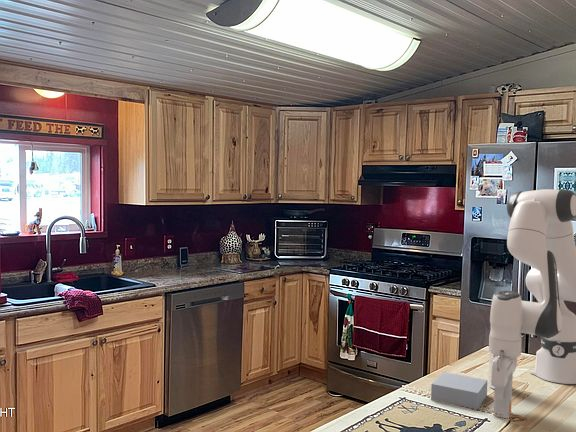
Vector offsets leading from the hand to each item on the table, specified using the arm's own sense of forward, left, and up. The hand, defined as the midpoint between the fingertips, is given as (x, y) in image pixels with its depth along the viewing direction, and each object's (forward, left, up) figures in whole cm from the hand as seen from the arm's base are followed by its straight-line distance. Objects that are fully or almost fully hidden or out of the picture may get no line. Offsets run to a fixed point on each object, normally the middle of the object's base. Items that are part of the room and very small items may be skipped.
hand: (503, 393), depth 160 cm
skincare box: (0, 0, -6) cm, 6 cm away
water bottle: (-23, -5, -6) cm, 24 cm away
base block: (-6, -14, -6) cm, 16 cm away
